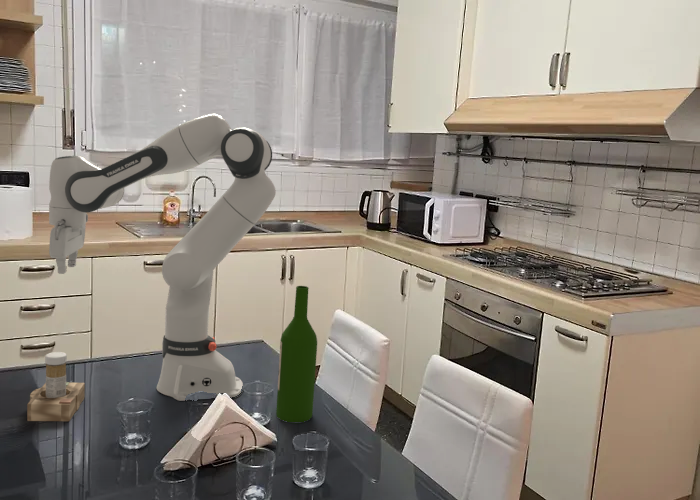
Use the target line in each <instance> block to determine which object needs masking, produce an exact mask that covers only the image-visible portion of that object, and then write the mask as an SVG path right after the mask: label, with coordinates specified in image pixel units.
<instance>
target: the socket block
mask: <svg viewBox="0 0 700 500" xmlns="http://www.w3.org/2000/svg"><path fill="white" fill-rule="evenodd" d="M85 385H86V384H85V382H69V381H66V396H63V397H58V398H46V382H45V383H44V384H43V385H42V387H40V388H36V389H34V390H33V391H32V392H31V393H30V395H29V401H28V403H27V404H26V405H27V406H26V407H27V408H26V409H27V410H26V411H27V413H26V415H27V417H26V418H27V422H70V421H71V419H72V418H73V416H74V415H75V414H76V413H77V411H78V410H79V409H80V406H81V404H82V403H83V402H84V400H85V395H86V394H85V393H86V392H85V391H86V390H85V389H86V388H85V387H86V386H85Z"/></svg>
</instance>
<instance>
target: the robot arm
mask: <svg viewBox="0 0 700 500" xmlns="http://www.w3.org/2000/svg"><path fill="white" fill-rule="evenodd" d="M272 150H273V149H272V147H271V145H270V143H269V142H268V141H267V140H266V138H265V137H264V136H263V135H262V134H261V133H260V132H258V131H256V130H253V129H252V128H248V127H236V128H233V129H232V128H231V126H230V124H229V123H228V121H227V120H226V119H225V118H224V117H223V116H222V115H220V114H217V113H208V114H204V115H202V116H199V117H196V118H193V119H190V120H188V121H186V122H184V123H181V124H179V125H177V126H176V127H174V128H172V129H170V130H169V131H166V132H165V133H163V135H161V136H159V137H158V138H157V139H155V140H153V141H152V142H151V143H149V144H147V145H146V146H144V147H143V148H142V149H140V150H138V151H137V152H135V153H133V154H131V155H128V156H127V157H124V158H123V159H121V160H118V161H116V162H114V163H112V164H110V165H107V166H105V167H103V168H100V167H98V166H96V165H95V164H93V163H91V162H90V161H88V160H87V159H86V158H85V157H83V156H81V155H66V156H60V157H56V158H55V159H53V160H52V163H51V165H50V170H49V171H50V172H49V181H48V182H49V187H48V188H49V193H50V200H49V207H48V209H49V210H48V224H49V225H51V226H54V227H52V228H51V230H50V233H49V234H50V235H49V248H48V249H49V250H48V254H49V257H50V258H51V259H55V262H56V266H57V273H58V274H59V275H62V274H63V275H65V274H66V273H67V267H69V268H75V267H76V266H77V258H78V253H79V250H80V249H82V248H83V247H84V244H85V239H86V228H87V226H86V225H87V223H88V221H89V215H88V213H92V212H94V211H98V210H102V209H105V208H109V207H113V206H115V205H117V204H119V203H120V202H121V201H122V199H123V197H124V194H125V188H126V187H129V186H131V185H133V184H135V183H137V182H139V181H141V180H144V179H146V178H151V177H155V176H161V175H171V174H178V173H180V172H181V173H182V172H185V171H187V170H190V169H193V168H195V167H196V168H197V167H198V166H199V165H202V164H204V163H206V162H208V161H209V160H212V159H215V158H220V157H222V158H223V161H224V163H225V164H226V165H227V168H228V169H229V171H230V173H231V175H232V176H233V177H234V181H233V182H232V184H231V185H230V186H229V187H228V189H227V190H226V191H225V192H224V193H223V194H222V195H221V196H220V198H219V199H217V201H216V202H215V203H213V205H212V206H211V207H210V208H209V209H208V211H207V212H206V213H205V214H204V215H203V216H202V217H201V218H200V220H199V221H197V222H196V223H195V225H194V226H192V228H191V229H189V231H188V232H187V233H185V235H184V236H183V237H182V238H181V239H180V241H178V242H177V244H176V245H174V247H173V248H172V249H171V250H170V251H169V252H168V253H167V254H166V256H165V257H164V259H163V261H162V262H163V263H162V266H161V275H162V278H163V280H164V282H165V284H167V285H168V286H169V289H168V294H167V295H168V296H167V301H166V304H165V318H164V319H165V322H164V335H163V337H162V344H161V354H162V364H161V371H160V375H159V379H158V383H157V385H156V390H157V392H158V393H161V394H163V395H165V396H168V397H171V398H173V399H174V400H175V401H176V400H177V401H181V402H182V401H185V398H186V396H187V395H188V394H191V393H195V392H198V391H204V392H207V393H216V394H219V393H227V394H228V395H229V396H230V397H231V398H230V399H232V397H235V396H237V395H239V394H240V393H241V389H242V386H243V387H244V383H243V380H241V378H239V377H237V376H236V372H235V367H234V365H233V363H232V362H231V360H229V359H228V358H226V357H225V356H224V355H222V354H221V353H220V352H219V351H217V350H216V349H217V343H216V339H215V337H214V336H210V335H209V317H210V304H211V303H210V302H211V296H212V286H213V278H214V270H215V269H217V266H219V264H220V263H222V261H223V260H224V259H225V258H226V257H227V256H228V254H229V253H230V252H231V251H232V250H233V249H234V248H235V247H236V245H237V244H238V243H240V241H241V240H242V239H244V237H245V236H246V234H247V233H248V232H249V231H251V229H252V228H253V227H254V226H255V224H256V223H258V221H260V219H261V218H262V217H263V216H264V214H265V213H266V211H267V210H268V208H269V207H270V205H271V204H272V202H273V200H274V199H275V196H276V187H275V184H274V182H273V181H272V179H270V177H269V176H267V173H266V170H268V168H269V167H270V165H271V163H272V159H273V151H272ZM67 258H68V260H67ZM66 261H67V262H66ZM66 263H67V264H66ZM241 394H242V393H241ZM241 394H240V395H241ZM240 395H239V396H240ZM237 397H238V396H237ZM235 398H236V397H235Z"/></svg>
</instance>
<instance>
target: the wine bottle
mask: <svg viewBox="0 0 700 500" xmlns="http://www.w3.org/2000/svg"><path fill="white" fill-rule="evenodd" d="M309 289H310V288H309V286H306V285H297V286H296V287H295V297H294V298H295V301H294V313H293V317H292V320H290V322H289V323H288V325H287V327H286V328H285V329H284V330H283V332H282V333H281V337H280V343H279V356H278V357H279V358H278V359H279V360H278V375H277V377H278V378H277V395H276V409H275V411H276V413H275V415H276V417H278V418H280V419H281V420H284V421H287V422H303V423H305V422H304V421H307V420H309V419H310V418H311V419H312V418H313V411H314V410H313V409H314V400H315V399H314V395H315V382H316V381H315V380H316V367H317V355H318V352H317V351H318V338H317V337H318V336H317V334H316V332H315V329H313V327H312V324H311V323H310V320H308V304H309V302H308V301H309ZM278 418H277V419H278ZM280 419H279V420H280ZM311 419H310V420H311ZM281 420H280V421H281ZM310 420H309V421H310ZM284 421H283V422H284ZM287 422H286V423H287ZM307 422H308V421H307Z"/></svg>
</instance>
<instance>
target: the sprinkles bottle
mask: <svg viewBox="0 0 700 500" xmlns="http://www.w3.org/2000/svg"><path fill="white" fill-rule="evenodd" d="M44 357H45V358H44V362H45V383H46V398H58V397H63V396H66V382H67V370H66V369H67V366H66V365H67V361H68V360H67V353H65V352H61V351H53V352H49V353H46V354H45V356H44Z"/></svg>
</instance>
